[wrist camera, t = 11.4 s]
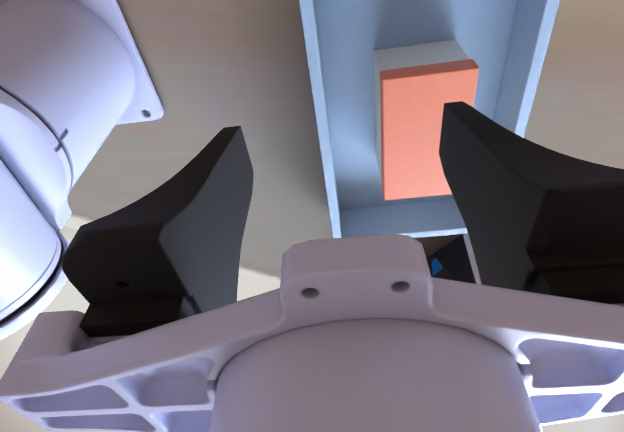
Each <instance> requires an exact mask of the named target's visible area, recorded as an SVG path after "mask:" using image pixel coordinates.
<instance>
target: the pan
mask: <svg viewBox="0 0 624 432" xmlns="http://www.w3.org/2000/svg"><path fill="white" fill-rule="evenodd" d="M559 2H560V0H299V5H300V12H301V19H302V26H303V33H304V40H305V47H306V54H307V61H308V68H309V75H310V82H311V89H312V96H313V103H314V110H315V117H316V124H317V131H318V137H319V144H320V151H321V158H322V165H323V172H324V179H325V186H326V193H327V200H328V207H329V214H330V221H331V228H332V235H333V238H342V237H354V236H366V235H378V234H400V235H409V236H411V237H412V238H419V237H431V236H443V235H454V234H466V233H468V231H467V228H466V226H465V223H464V220H463V218H462V216H461V213H460V211H459V209H458V206H457V204H456V202H455V199H454V197H453V195H452V194H447V195H437V196H426V197H416V198H406V199H395V200H384V199H383V193H382V185H381V180H380V175H379V169H378V164H377V159H376V142H375V108H374V75H373V50H380V49H388V48H395V47H403V46H410V45H418V44H425V43H433V42H441V41H448V40H456V41H457V42H458V44H459V45H460V47H461V48H462V50H463V51H464V53H465V54H466V56H467V57H468V59H474V61H475V62H476V63H477V65H478V66H479V72H478V79H477V85H476V92H475V98H474V104H473V108H474V109H476V110H477V111H479V112H481V113H482V114H484V115H485V116H487V117H488V118H490V119H491V120H493V121H494V122H496V123H498V124H499V125H501V126H503V127H504V128H506V129H508V130H510V131H511V132H513V133H515V134H517V135H519V136H521V137H524V133H525V129H526V126H527V122H528V118H529V114H530V111H531V107H532V103H533V99H534V96H535V92H536V88H537V84H538V81H539V77H540V73H541V69H542V66H543V62H544V58H545V54H546V51H547V47H548V43H549V39H550V36H551V32H552V28H553V24H554V21H555V17H556V13H557V9H558V6H559Z"/></svg>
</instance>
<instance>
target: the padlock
mask: <svg viewBox="0 0 624 432" xmlns="http://www.w3.org/2000/svg"><path fill="white" fill-rule="evenodd" d="M427 263H428V266H429V270H430V274H431V277H434V278H440V279H447V280H453V281H460V282H467V283H473V284H480V285H482V284H481V280H480V275H479V272H478V268H477V264H476V260H475V256H474V252H473V249H472V245H471V242H470V238H469V235H468V234H464V235H462V236H460V237H459V238H457V239H456V240H454V241H453V242H451V243H450V244H448V245H447V246H445V247H444V248H442V249H441V250H439V251H437V252H436V253H434V254H433V255H432V256H431V257H430V258H429V259H428V260H427Z"/></svg>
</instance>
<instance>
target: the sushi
mask: <svg viewBox="0 0 624 432" xmlns="http://www.w3.org/2000/svg"><path fill="white" fill-rule="evenodd" d="M478 72H479V66H478V65H477V63H476V62H475V61H474V59H468V57H467V56H466V54H465V53H464V51H463V50H462V48H461V47H460V45H459V44H458V42H457V41H456V40H448V41H441V42H433V43H425V44H418V45H410V46H403V47H395V48H388V49H380V50H373V75H374V108H375V142H376V159H377V164H378V169H379V175H380V180H381V185H382V193H383V199H384V200H395V199H406V198H416V197H426V196H437V195H447V194H452V192H451V190H450V188H449V185H448V183H447V180H446V178H445V175H444V172H443V168H442V164H441V160H440V156H439V145H440V136H441V126H442V117H443V108H444V103H450V102H459V101H463V102H465V103H467V104H468V105H470V106H471V107H473V104H474V98H475V92H476V85H477V79H478Z"/></svg>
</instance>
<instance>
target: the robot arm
mask: <svg viewBox="0 0 624 432" xmlns="http://www.w3.org/2000/svg"><path fill="white" fill-rule="evenodd" d="M144 110H147V111H149V112H150V114H146V113H145V112H144ZM163 113H164V110H163V107H162V105H161V103H160V100H159V98H158V96H157V93H156V91H155V89H154V86H153V84H152V82H151V79H150V77H149V75H148V72H147V70H146V68H145V65H144V63H143V61H142V58H141V56H140V54H139V51H138V49H137V47H136V44H135V42H134V40H133V37H132V35H131V33H130V30H129V28H128V26H127V23H126V21H125V19H124V16H123V14H122V12H121V10H120V7H119V5H118V3H117V0H0V340H2V339H4V338H5V337H7V336H9V335H10V334H12V333H14V332H16V331H17V330H19V329H20V328H22V327H23V326H24V325H26V324H27V323H29V322H30V321H31V320H32V319H34V318H35V317H36V316H37V315H38V316H37V318H36V320H35V321H34V323H33V325H32V326H31V328H30V330H29V331H28V333H27V335H26V337H25V338H24V340H23V342H22V344H21V346H20V347H19V349H18V351H17V352H16V354H15V356H14V358H13V359H12V361H11V363H10V365H9V367H8V368H7V370H6V372H5V373H4V375H3V377H2V378H1V380H0V402H2V403H3V404H5V405H7V406H8V407H10V408H12V409H13V410H15V411H16V412H18V413H20V414H22V415H23V416H25V417H26V418H28V419H30V420H31V421H33V422H35V423H36V424H38V425H39V426H41V427H43V428H44V429H46V430H48V431H74V430H85V431H116V432H543V431H542V428H541V426H543V425H549V424H556V423H562V422H569V421H576V420H582V419H589V418H595V417H602V416H609V415H615V414H622V413H624V169H619V168H613V167H609V166H604V165H600V164H596V163H591V162H587V161H584V160H580V159H577V158H573V157H570V156H567V155H564V154H561V153H558V152H555V151H553V150H550V149H547V148H545V147H543V146H540V145H538V144H535V143H533V142H531V141H529V140H527V139H525V138H523V137H521V136H519V135H517V134H515V133H513V132H511V131H510V130H508V129H506V128H504V127H503V126H501V125H499V124H498V123H496V122H494V121H493V120H491V119H490V118H488V117H487V116H485V115H484V114H482V113H481V112H479V111H477V110H476V109H474V108H473V107H471V106H470V105H468V104H467V103H465V102H463V101H459V102H450V103H444V108H443V117H442V126H441V136H440V145H439V156H440V160H441V164H442V168H443V172H444V175H445V178H446V180H447V183H448V185H449V188H450V190H451V192H452V195H453V197H454V199H455V202H456V204H457V206H458V209H459V211H460V213H461V216H462V218H463V220H464V223H465V226H466V228H467V231H468V235H469V238H470V242H471V245H472V249H473V252H474V256H475V260H476V264H477V268H478V272H479V275H480V280H481V284H482V285H480V284H473V283H467V282H460V281H453V280H447V279H440V278H434V277H431V274H430V270H429V266H428V263H427V259H426V255H425V252H424V249H423V246H422V243H420V242H419V241H417V240H415V239H414V238H412V237H411V236H409V235H400V234H378V235H366V236H354V237H342V238H330V239H318V240H310V241H306V242H303V243H299V244H295V245H293V246H292V247H291V248H290V249H289V250H288V251H287V252H285V253H284V254H283V260H282V269H281V282H280V288H279V289H276V290H272V291H269V292H266V293H263V294H260V295H257V296H253V297H250V298H247V299H244V300H241V301H237V285H238V271H239V260H240V249H241V243H242V238H243V233H244V229H245V224H246V219H247V215H248V210H249V206H250V201H251V196H252V187H253V168H252V165H251V161H250V158H249V154H248V151H247V147H246V144H245V140H244V137H243V133H242V130H241V126H235V127H226V128H223V129H222V130H221V131H220V132H219V133H218V134H217V135H216V136H215V137H214V138H213V139H212V140H211V141H210V142H209V143H208V144H207V145H206V147H205V148H204V149H203V150H202V151H201V152H200V153H199V154H198V155H197V156H196V157H195V158H194V159H192V160H191V161H190V162H189V163H188V164H187V165H186V166H185V167H184V168H183V169H182V170H181V171H179V172H178V173H177V174H176V175H175V176H173V177H172V178H171V179H169V180H168V181H167V182H165V183H164V184H163V185H161V186H160V187H158V188H157V189H155V190H154V191H152V192H151V193H149V194H147V195H146V196H144V197H142V198H141V199H139V200H138V201H136V202H134V203H132V204H130V205H128V206H126V207H124V208H122V209H120V210H118V211H116V212H114V213H112V214H110V215H107V216H105V217H102V218H100V219H97V220H95V221H93V222H90V223H88V224H85V225H82V226H80V228H79V230H78V231H77V233H76V235H75V237H74V238H73V240H72V241H71V243H70V244H69V243H68V242H67V240H66V239H65V238H64V237H63V235H62V234H61V233H60V230H61V229H62V227H63V226H64V224H65V223H66V221H67V220H68V218H69V216H70V215H71V213H72V211H71V210H70V208H69V206H68V202H67V196H68V193H69V192H70V190H71V189H72V187H73V186H74V184H75V183H76V181H77V180H78V178H79V177H80V176H81V174H82V173H83V171H84V170H85V168H86V167H87V165H88V164H89V162H90V161H91V159H92V158H93V157H94V155H95V154H96V152H97V151H98V149H99V148H100V146H101V145H102V143H103V142H104V141H105V139H106V138H107V136H108V135H109V133H110V132H111V130H112V129H113V127H114V126H115V125H117V124H125V123H133V122H141V121H150V120H158V119H160V118H161V117H162V116H163ZM67 279H69V281H70V282H71V283H72V284H73V285H74V286H75V287H76V288H77V290H78V291H79V292H80V293H81V294H82V295H83V296H84V298H85V299H86V300H87V301H88V302H89V303H90V305H89V307H88V309H87V311H86V313H85V314H84V313H82V312H79V311H58V312H44V313H41V312H42V311H43V310H44V309H45V308H46V307H47V306H48V305H49V304H50V303H51V302H52V300H53V299H54V298H55V297H56V296H57V294H58V293H59V292H60V290H61V289H62V287H63V286H64V284H65V282H66V280H67Z"/></svg>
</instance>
